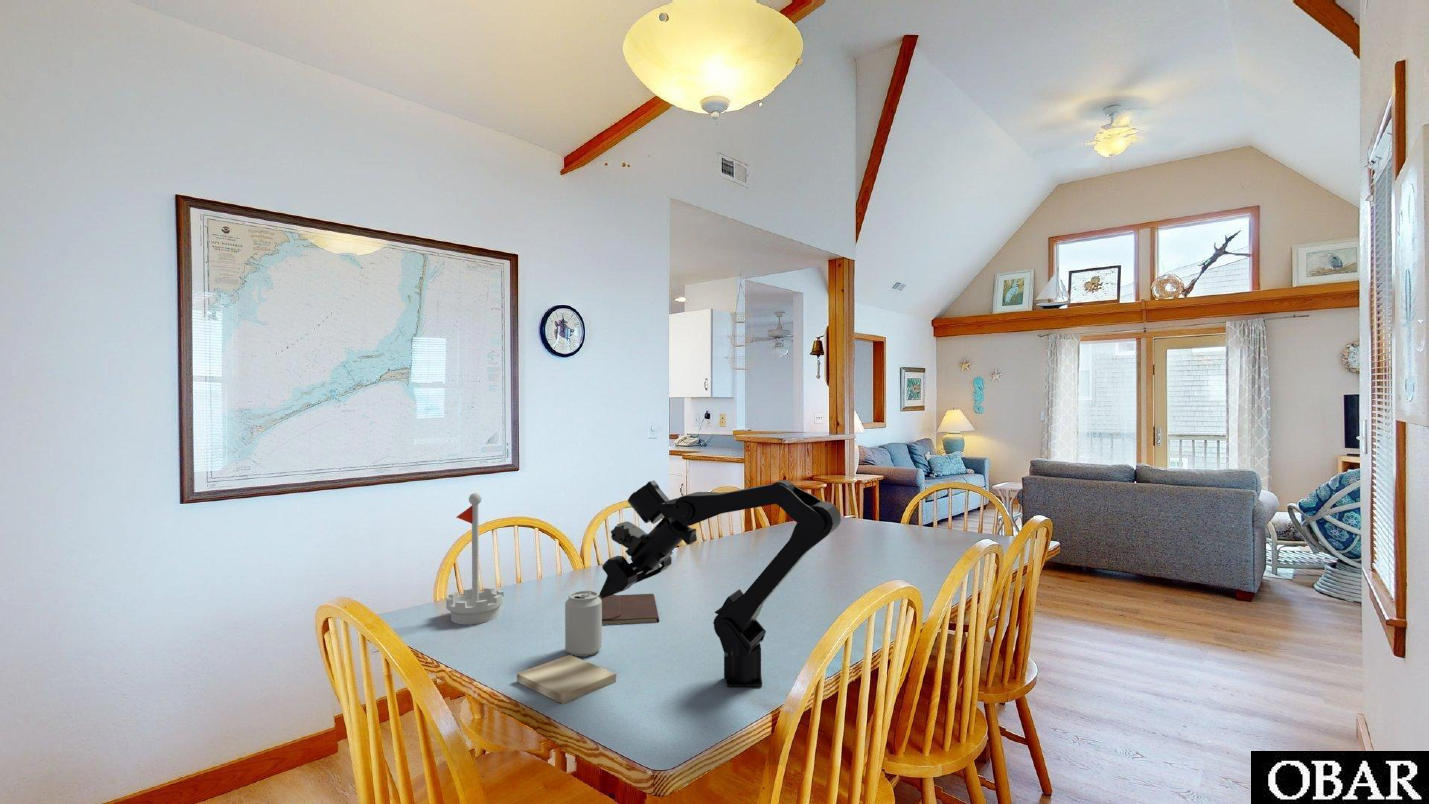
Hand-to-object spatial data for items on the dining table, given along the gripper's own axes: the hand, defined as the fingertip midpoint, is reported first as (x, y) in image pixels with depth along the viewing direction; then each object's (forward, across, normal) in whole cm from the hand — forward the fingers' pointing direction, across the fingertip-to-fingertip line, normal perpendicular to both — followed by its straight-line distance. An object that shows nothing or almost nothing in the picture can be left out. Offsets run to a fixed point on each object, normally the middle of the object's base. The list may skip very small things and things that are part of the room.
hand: (613, 590), depth 135 cm
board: (+11, +14, +8) cm, 19 cm away
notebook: (+20, -27, +1) cm, 33 cm away
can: (+15, 0, +4) cm, 16 cm away
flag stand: (+41, -8, -22) cm, 47 cm away
